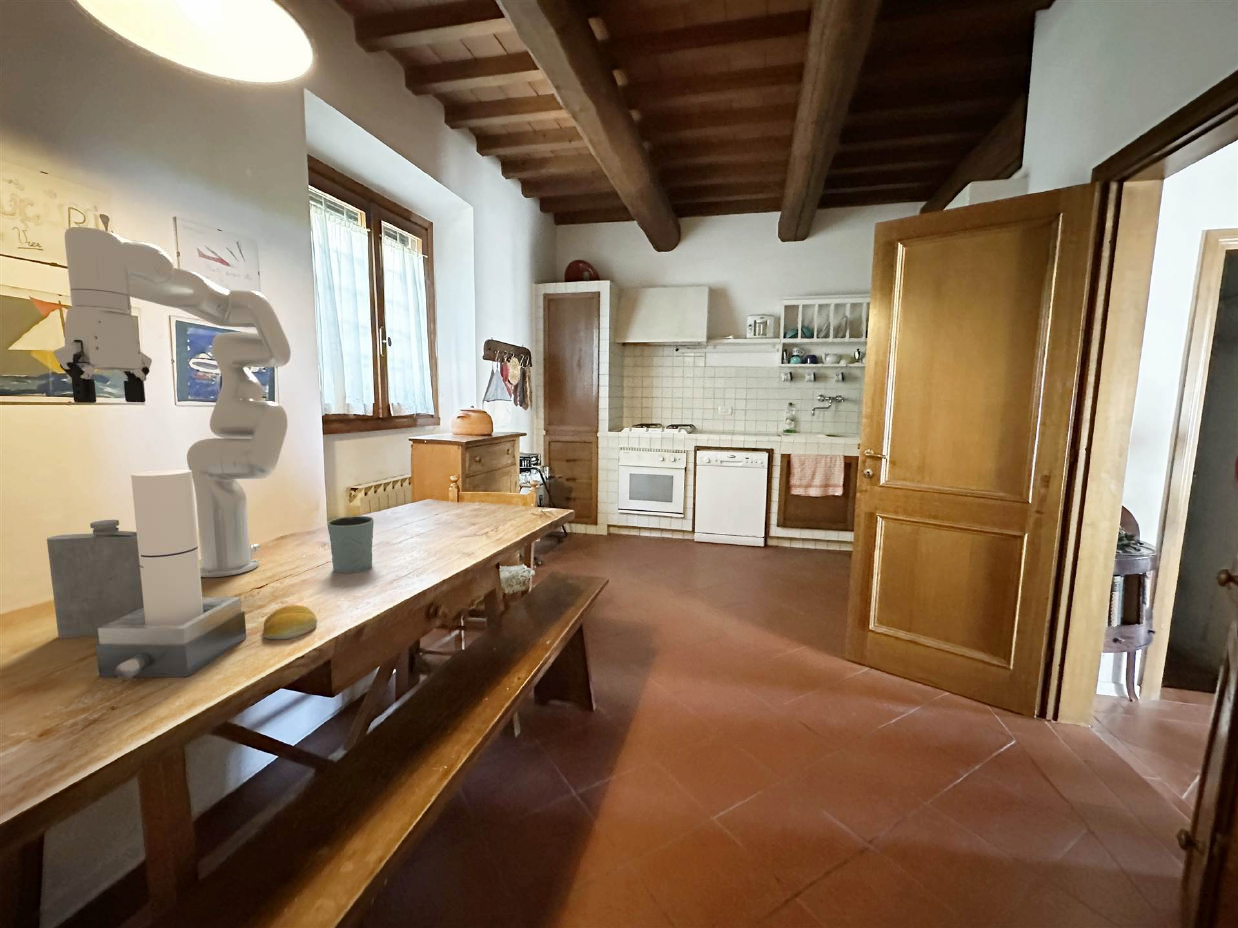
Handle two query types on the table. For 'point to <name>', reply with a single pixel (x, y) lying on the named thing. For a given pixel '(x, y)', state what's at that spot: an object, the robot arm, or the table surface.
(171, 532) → the cylindrical container
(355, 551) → the green cup
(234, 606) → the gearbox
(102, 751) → the table surface
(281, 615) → the bread roll
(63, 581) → the hip flask
